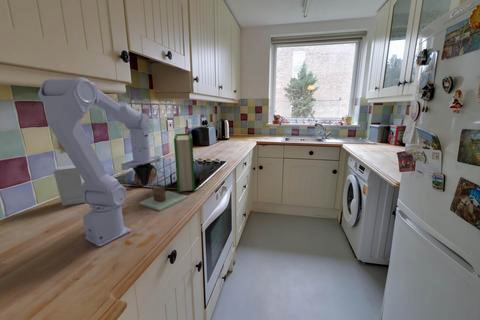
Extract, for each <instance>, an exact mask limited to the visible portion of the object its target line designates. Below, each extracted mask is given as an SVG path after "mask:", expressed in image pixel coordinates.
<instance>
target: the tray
mask: <svg viewBox="0 0 480 320" xmlns="http://www.w3.org/2000/svg"><path fill="white" fill-rule="evenodd" d="M165 197H166V200H165V201H163V202H157V201H154V197H153V196H151V197H149V198H146V199H144V200H142V201H139V205H141V206H144V207H148V208H151V209H154V210H156V211H159V212H161V211H163V210H166V209H168V208H169V207H172V206H174V205H176V204H178V203H180V202H182V201H184V200H187V199H188V197H189V196H188V195H185V194H181V193H178V192H174V191H171V190H170V191H169V190H167V191H166V190H165Z"/></svg>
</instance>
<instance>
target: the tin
mask: <svg viewBox="0 0 480 320" xmlns="http://www.w3.org/2000/svg"><path fill="white" fill-rule="evenodd" d="M152 165H153V168H152V170H151V173H150V176H149V181H148V184H150V183H152V182H154V181H155V180H156V178H157V169H156V166H155V165H154V164H152ZM133 177H134V182H135V184H136V185H137V186H142V187H143V185H142V184H141V182H140V179H139V177H138V175H137V174H136V172H135V171H134V175H133Z"/></svg>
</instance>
